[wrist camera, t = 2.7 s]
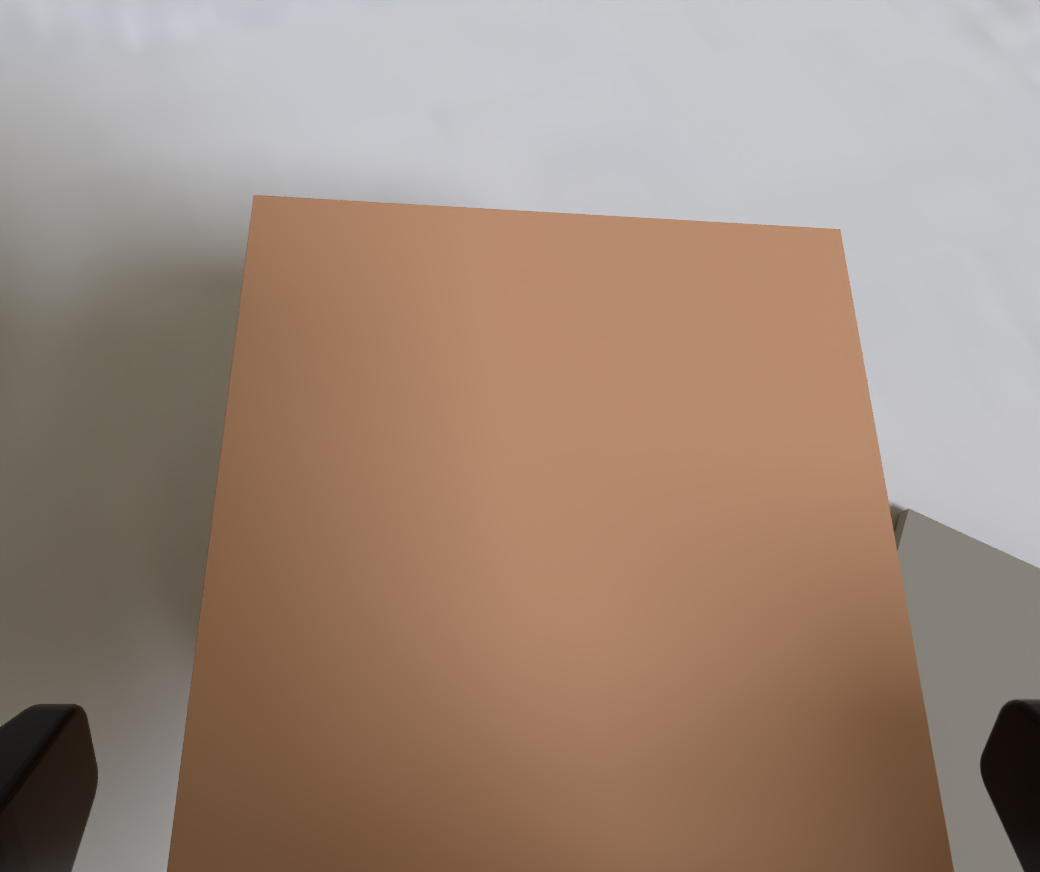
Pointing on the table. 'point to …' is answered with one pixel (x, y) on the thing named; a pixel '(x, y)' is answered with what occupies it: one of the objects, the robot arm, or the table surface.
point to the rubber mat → (968, 668)
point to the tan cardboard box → (550, 558)
